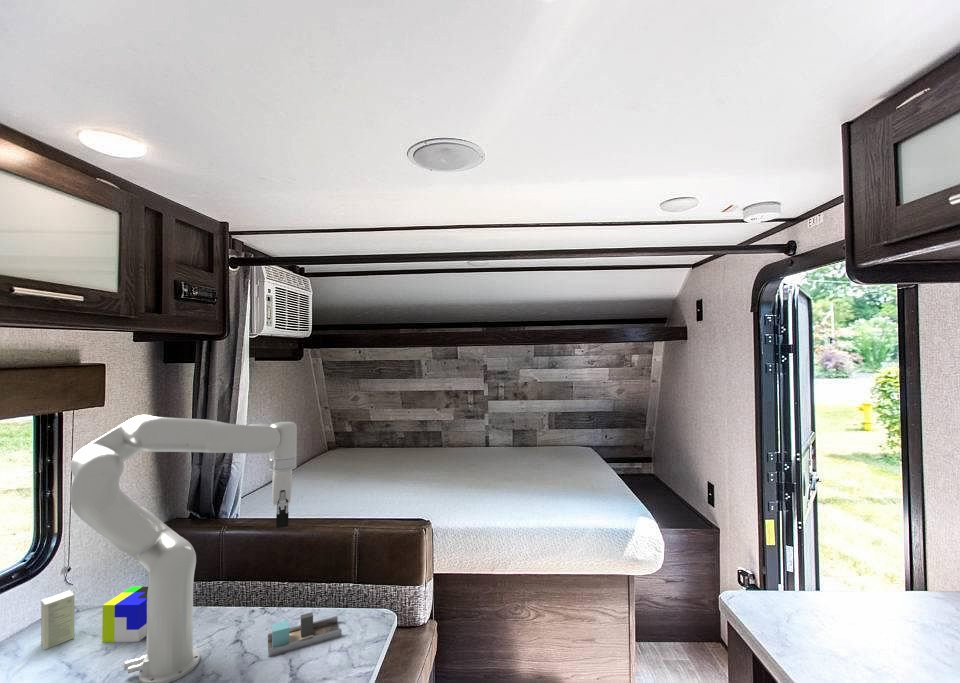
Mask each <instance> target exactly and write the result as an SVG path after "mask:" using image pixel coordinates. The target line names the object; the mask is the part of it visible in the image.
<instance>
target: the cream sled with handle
mask: <svg viewBox="0 0 960 683" xmlns="http://www.w3.org/2000/svg"><path fill="white" fill-rule="evenodd" d="M313 622H314V614H313V611H311V612H307V613H303V614H300V625H301V630H300V631H296V632H292V633H289V643H290V642H294V641H298V640H301V639H305V638H309V637H312V636H313V635H314V633H313V632H314V629H313ZM271 647H273V644H272V646H271Z"/></svg>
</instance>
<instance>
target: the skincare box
mask: <svg viewBox="0 0 960 683" xmlns="http://www.w3.org/2000/svg"><path fill="white" fill-rule="evenodd" d="M40 603H41V604H40V609H41V610H40V614H41V616H40V618H41V620H40V624H41V625H40V626H41V627H40V628H41V630H40V632H41V633H40V636H41V638H40V639H41V640H40V642H41V646H42V648H43V650H48V649H50V648H53V647H55V646H57V645H60V644H63V643H65V642H68V641H71V640H72V639H74V638H75V594H74V593H73V591H71V590H70V589H69V590H67V591H63V592H60V593H58V594H57V593H56V594H53V595H52V596H49V597H46V598H42V599H41V600H40Z"/></svg>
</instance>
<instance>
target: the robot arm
mask: <svg viewBox="0 0 960 683" xmlns="http://www.w3.org/2000/svg"><path fill="white" fill-rule="evenodd" d="M297 431H298V428H297V424H296V422H294V421H279V422H273V423H250V424H245V425H244V424H236V423H229V422H223V421H220V420H219V421H217V420H213V419H202V418H182V417H167V416H165V417H164V416H153V415H150V414H141V415H140V414H139V415H136V416H134V417H132V418H129V419H128V420H126V421H125V422H123V423H121V424H119V425H118V426H117V427H115V428H113V429H111V430H110V431H108V432H107V433H105V434H103V435H102V436H100V437H98V438H96V439H95V440H92V441H91V442H90V443H88V444H87V445H85V446H83V447H81V448H80V449H79V450H78V451H76V453H75V454H74V455H73V456H72V459H71V461H70V471H71V474H72V475H73V477H74V478H73V481H72V484H71V488H70V493H69V500H70V505H71V506H70V507H71V508H72V510H73V511H74V513H75V515H77V517H78V518H80V519H81V520H82V521H83V522H84V523H85V524H86V525H88V526H89V527H90V528H91V529H93V530H94V531H95V532H96V533H98V534H99V535H101V537H103V538H105V539H106V540H107V541H108V542H109V543H110V544H111V546H113V547H114V548H115V549H117V550H118V551H119V552H122V553H124V554H127V555H128V556H130V557H131V559H132V558H133V559H134V560H135V561H137V562H138V563H140V564H141V565H142V566H143V568H144V569H145V570H146V571H147V572H148V577H149V579H148V586H147V587H148V593H147V635H146V653H145V654H141V656H140V657H137V658H131V659H127V660H125V661H124V667H123V670H124V671H126V670H127V673H128V675H129V674H132V673H135V672H138V673H137V674H138V677H137V678H138V682H139V683H172V682H174V681H175V682H176V681H177V680H179V679H181V678H183V677H185V676H186V675H188V674H189V673H190V672H192V671H193V670H194V669H195V668H196V667H197V666H198V665H199V663H200V659H201V653H200V651H199V650H198V649H196V648H193V646H194V644H193V643H194V642H193V641H194V640H193V639H194V635H193V634H194V618H193V617H194V578H195V570H196V564H197V554H196V551H195V549H194V547H193V545H192V544H191V542H189V540H188V539H186V538H184V537H183V536H181V535H180V534H178V533H177V532H176V531H174V530H173V529H172V528H171V527H169V526H168V525H167V524H166V523H164V522H163V521H162V520H160V519H159V517H157V516H156V515H155V514H154V513H152V512H151V511H150V510H149V509H147V508H146V507H144V506H141V505H139V504H137V503H136V502H135V501H134V500H133V499H131V498H130V497H129V495H127V494H126V493H124V492H123V490H121V488H120V479H121V477H122V474H123V472H124V469H125V462H126V461H128V460H130V459H131V458H132V457H134V456H135V455H136V454H138V453H140V452H153V453H156V452H157V453H161V452H163V453H170V452H171V453H173V452H175V453H178V452H179V453H206V454H207V453H208V454H209V453H211V454H214V453H215V454H221V453H222V454H224V453H225V454H253V455H254V454H255V455H256V454H257V455H258V454H259V455H261V454H262V455H263V454H269V456H268V458H269V459H268V461H269V462H268V467H269V468H268V470H269V471H270V472H272V480H271V481H272V488H271V490H272V491H271V493H272V494H271V501H272V502H271V505H272V506H273V507H275V505H276V516H275V520H276V522H275V524H276V526H275V527H276V529H279V528H287V527H289V514H290V513H289V504H290V503H291V497H292V486H293V484H292V483H293V470H295V469H296V468H297V456H298V455H297V454H298V453H297V449H298V448H297V447H298V446H297V444H298V443H297V441H298V440H297V439H298V438H297V437H298V436H297V435H298V434H297Z"/></svg>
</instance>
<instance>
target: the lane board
mask: <svg viewBox="0 0 960 683" xmlns="http://www.w3.org/2000/svg"><path fill="white" fill-rule="evenodd" d="M338 618H339V617H338V615H335V616H331V617H328V618H323V619H320V620H316V621H313V636H312V637H309V638H305V639H301V640H298V641H294V642H290V643H287V644H283V645H279V646H276V647H272V632H268V633H267V645H268V646H267V648H268V649H267V652H268V654H267V655H268V656H267V657H269V658H270V657H273V656H276V655H280V654H283V653H287V652H291V651H294V650H298V649H302V648H306V647H308V646H312V645H313V646H314V645H316V644H320V643H322V642H326V641H330V640H334V639H337V638H341V637H342V635H343V634H342V628H340V627H339V623H338ZM300 630H301V624H300V625H297V626H293V627H289V633H292V632H296V631H300Z"/></svg>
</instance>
